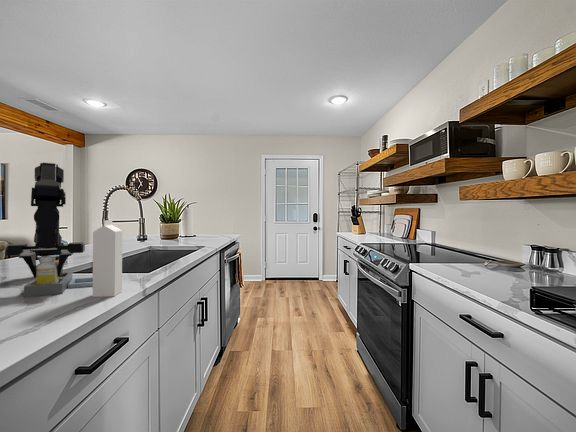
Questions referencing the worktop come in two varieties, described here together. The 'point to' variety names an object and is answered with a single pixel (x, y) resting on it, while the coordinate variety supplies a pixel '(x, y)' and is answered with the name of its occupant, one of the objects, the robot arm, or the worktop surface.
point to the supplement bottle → (47, 270)
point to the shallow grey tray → (48, 285)
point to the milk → (107, 260)
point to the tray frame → (73, 284)
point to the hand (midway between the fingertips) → (47, 276)
